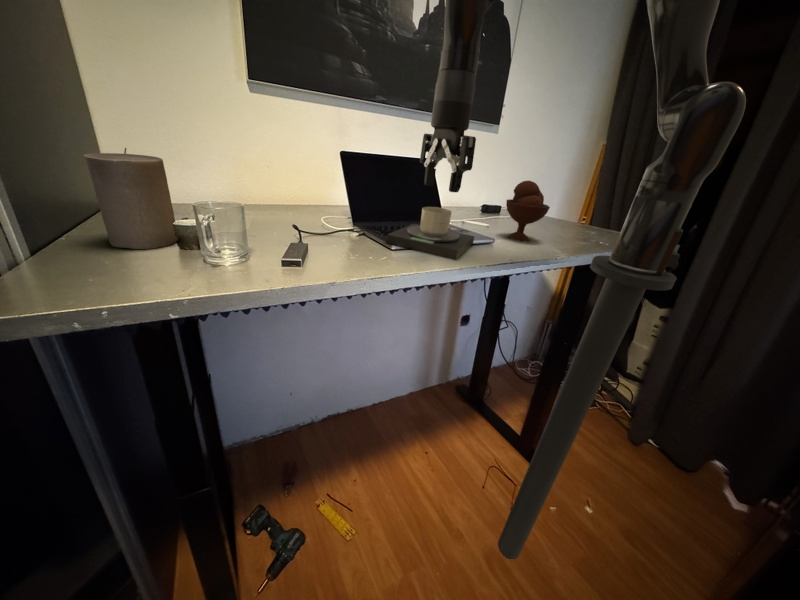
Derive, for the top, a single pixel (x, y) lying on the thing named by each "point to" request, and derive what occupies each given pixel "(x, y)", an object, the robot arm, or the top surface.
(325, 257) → the top surface
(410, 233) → the scale pan
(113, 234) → the pillar candle
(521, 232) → the ice cream bowl
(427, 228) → the squat beige cylinder
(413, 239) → the scale
